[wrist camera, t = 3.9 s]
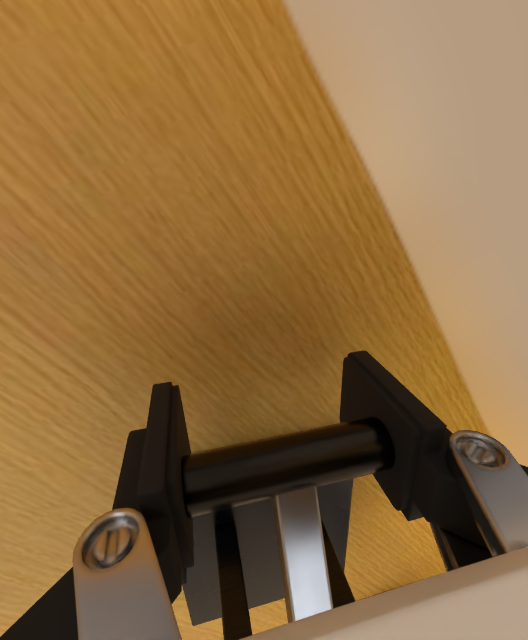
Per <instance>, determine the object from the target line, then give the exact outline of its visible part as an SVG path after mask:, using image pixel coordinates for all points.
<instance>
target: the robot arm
mask: <svg viewBox="0 0 528 640" xmlns="http://www.w3.org/2000/svg"><path fill="white" fill-rule="evenodd" d="M368 417H376V418H378V419H379V420H381V421H382V423H383V424H384V425H385V427H386V428H387V430H388V432H389V434H390V436H391V439H392V442H393V445H394V450H395V463H394V465H393V467H392V468H391V469H389V470H385V471H381V472H377V473H373V475H374V477H375V479H376V480H377V482H378V483H379V485H380V486H381V488H382V489H383V491H384V493H385V494H386V496H387V497H388V499H389V500H390V502H391V503H392V505H393V506H394V508H395V509H396V510H398V511H400V510H401V511H402V513H403V514H404V516H405V517H406V519H407V520H408V521H411V520H415V519H418V518H422V517H424V518H425V519H426V521H428V522H430V526H431V529H432V532H433V534H434V537H435V540H436V543H437V545H438V548H439V551H440V554H441V556H442V559H443V562H444V565H445V568H446V570H447V572H445V573H442V574H439V575H436V576H433V577H430V578H427V579H423V580H420V581H417V582H414V583H411V584H408V585H405V586H402V587H399V588H395V589H392V590H389V591H386V592H383V593H380V594H377V595H374V596H371V597H368V598H364V599H361V600H358V601H355V602H352V603H349V604H346V605H343V606H340V607H337V608H334V609H330V610H327V611H324V612H321V613H318V614H315V615H312V616H309V617H306V618H303V619H300V620H297V621H294V622H291V623H288V624H285V625H282V626H279V627H276V628H273V629H270V630H266V631H263V632H260V633H257V634H254V635H251V636H248V637H245V638H242V639H239V640H528V467H526V466H523V465H520V464H519V463H518V462H517V461H516V459H515V458H514V457H513V456H512V454H511V453H510V451H509V450H508V449H507V448H506V447H505V446H504V445H503V444H501V443H500V442H499V441H497V440H496V439H494V438H492V437H490V436H488V435H486V434H483V433H480V432H477V431H470V430H462V431H457V432H455V433H453V434H452V433H451V432H450V431H449V430H448V429H447V428H446V425H445V424H444V423H443V422H442V421H441V420H440V419H439V418H438V417H437V416H436V415H435V414H433V413H432V412H431V411H430V410H429V409H428V408H427V407H426V406H425V405H424V404H423V403H422V402H421V401H420V400H418V399H417V398H416V397H415V396H414V395H413V394H412V393H411V392H410V391H409V390H408V389H407V388H406V387H404V386H403V385H402V384H401V383H400V382H399V381H398V380H397V379H396V378H395V377H394V376H393V375H392V374H391V373H389V372H388V371H387V370H386V369H385V368H384V367H383V366H382V365H381V364H380V363H379V362H378V361H377V360H375V359H374V358H373V357H372V356H371V355H370V354H369V353H368V352H367V351H357V352H351V353H349V354H348V357H346V358H344V361H343V375H342V390H341V405H340V422H341V423H343V422H348V421H353V420H358V419H363V418H368ZM188 454H191V450H190V444H189V439H188V433H187V428H186V422H185V417H184V411H183V406H182V401H181V395H180V390H179V386H178V385H176V386H172V382H166V383H160V384H154V385H153V388H152V395H151V401H150V408H149V415H148V421H147V428H145V429H140V430H134V431H131V432H130V433H129V436H128V440H127V444H126V449H125V454H124V458H123V463H122V467H121V472H120V477H119V481H118V486H117V490H116V495H115V500H114V504H113V509H112V511H109V512H107V513H105V514H103V515H102V516H100V517H98V518H97V519H95V520H94V521H93V522H92V523H91V524H90V525H89V526H88V527H87V528H86V529H85V530H84V532H83V533H82V534H81V536H80V537H79V539H78V541H77V543H76V546H75V548H74V552H73V567H72V568H71V569H70V570H69V571H68V572H67V573H66V574H65V575H64V576H63V577H62V578H61V579H60V580H59V581H58V582H57V583H56V584H55V585H53V586H52V587H51V588H50V589H49V590H48V591H47V592H46V593H45V594H44V595H43V596H42V597H41V598H40V599H39V600H38V601H37V602H36V603H35V604H34V605H33V606H32V607H31V608H30V609H29V610H28V611H27V612H26V613H25V614H24V615H23V616H22V617H21V618H19V619H18V620H17V621H16V622H15V623H14V624H13V625H12V626H11V627H10V628H9V629H8V630H7V631H6V632H5V633H4V634H3V635H2V636H1V637H0V640H182V638H181V635H180V632H179V628H178V625H177V622H176V618H175V615H174V612H173V609H172V603H173V602H174V601H175V599H176V598H177V596H178V595H179V594H180V592H181V585H183V584H186V583H187V568H190V567H193V566H194V540H193V517H191V518H188V517H187V515H186V511H185V506H184V499H183V490H182V475H181V461H182V456H184V455H188Z"/></svg>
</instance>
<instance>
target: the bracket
mask: <svg viewBox="0 0 528 640" xmlns="http://www.w3.org/2000/svg"><path fill="white" fill-rule="evenodd" d="M352 487H353V478H352V479H348V480H344V481H340V482H336V483H331V484H327V485H323V486H319V487H316V489H317V497H318V504H319V511H320V518H321V525H322V532H323V539H324V546H325V553H326V560H327V567H328V574H329V582H330V589H331V596H332V603H333V609H334V608H337V607H340V606H343V605H346V604H349V603H352V602H355V599H354V596H353V594H352V592H351V589H350V587H349V584H348V582H347V579H346V577H345V574H344V567H345V557H346V547H347V537H348V527H349V517H350V507H351V497H352ZM193 540H194V566H193V567H190V568H187V583H186V584H183V585H182V586H183V590H184V594H185V598H186V602H187V606H188V609H189V613H190V617H191V621H192V625H193V626H195V625H198V624H201V623H205V622H208V621H211V620H215V619H218V618H221V617H222V623H223V635H224V640H239V639H242V638H245V637H248V636H251V635H252V630H251V623H250V616H249V610H248V609H250V608H254V607H257V606H260V605H264V604H267V603H270V602H273V601H277V600H280V599H283V598H285V595H284V588H283V580H282V573H281V566H280V559H279V551H278V544H277V537H276V530H275V522H274V515H273V508H272V500H271V498H270V499H266V500H261V501H257V502H253V503H249V504H245V505H241V506H237V507H233V508H228V509H224V510H220V511H216V512H212V513H208V514H204V515H200V516H196V517H193Z"/></svg>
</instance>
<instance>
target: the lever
mask: <svg viewBox="0 0 528 640" xmlns="http://www.w3.org/2000/svg"><path fill="white" fill-rule="evenodd" d="M394 463H395V450H394V445H393V442H392V439H391V436H390V434H389V432H388V430H387V428H386V427H385V425H384V424H383V423H382V421H381V420H379V419H378V418H376V417H368V418H363V419H358V420H353V421H348V422H343V423H339V424H334V425H329V426H324V427H319V428H314V429H309V430H305V431H300V432H295V433H290V434H285V435H280V436H275V437H271V438H266V439H261V440H256V441H251V442H246V443H241V444H237V445H232V446H227V447H222V448H217V449H212V450H207V451H203V452H198V453H193V454H188V455H184V456H182V461H181V475H182V490H183V499H184V506H185V511H186V515H187V517H188V518H191V517H196V516H200V515H204V514H208V513H212V512H216V511H220V510H224V509H228V508H233V507H237V506H241V505H245V504H249V503H253V502H257V501H261V500H266V499H270V498H271V500H272V508H273V515H274V522H275V530H276V537H277V544H278V551H279V559H280V566H281V573H282V580H283V588H284V595H285V602H286V610H287V617H288V623H291V622H294V621H297V620H300V619H303V618H306V617H309V616H312V615H315V614H318V613H321V612H324V611H327V610H330V609H333V603H332V596H331V589H330V582H329V574H328V567H327V560H326V553H325V546H324V539H323V532H322V525H321V518H320V511H319V504H318V497H317V489H316V487H319V486H323V485H327V484H331V483H336V482H340V481H344V480H348V479H352V478H356V477H360V476H364V475H369V474H373V473H377V472H381V471H385V470H389V469H391V468H392V467H393V465H394Z"/></svg>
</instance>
